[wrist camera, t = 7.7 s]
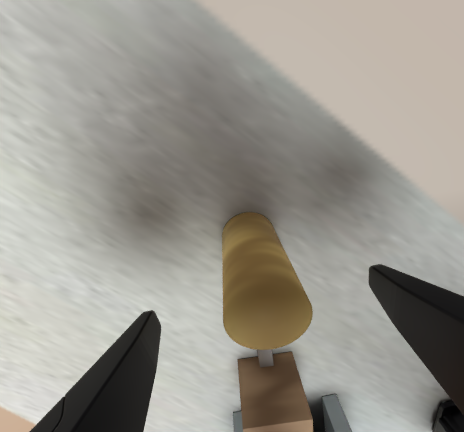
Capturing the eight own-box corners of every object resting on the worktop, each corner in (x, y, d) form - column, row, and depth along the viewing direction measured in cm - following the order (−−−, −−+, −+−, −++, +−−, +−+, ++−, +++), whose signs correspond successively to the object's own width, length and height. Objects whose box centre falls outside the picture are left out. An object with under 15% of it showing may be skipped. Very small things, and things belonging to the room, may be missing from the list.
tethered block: (282, 206, 15) (331, 273, 8) (294, 385, 22) (323, 492, 16) (207, 218, 15) (197, 293, 8) (244, 392, 22) (254, 501, 16)
